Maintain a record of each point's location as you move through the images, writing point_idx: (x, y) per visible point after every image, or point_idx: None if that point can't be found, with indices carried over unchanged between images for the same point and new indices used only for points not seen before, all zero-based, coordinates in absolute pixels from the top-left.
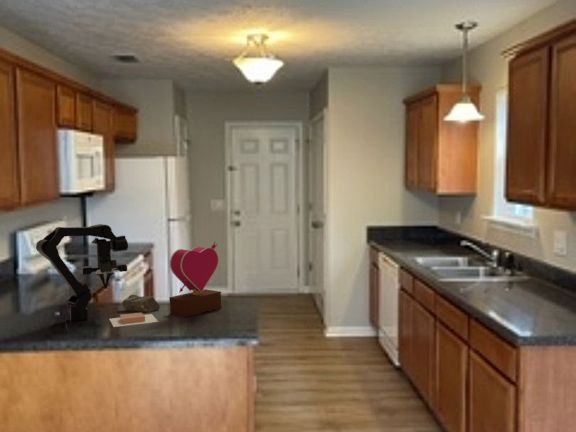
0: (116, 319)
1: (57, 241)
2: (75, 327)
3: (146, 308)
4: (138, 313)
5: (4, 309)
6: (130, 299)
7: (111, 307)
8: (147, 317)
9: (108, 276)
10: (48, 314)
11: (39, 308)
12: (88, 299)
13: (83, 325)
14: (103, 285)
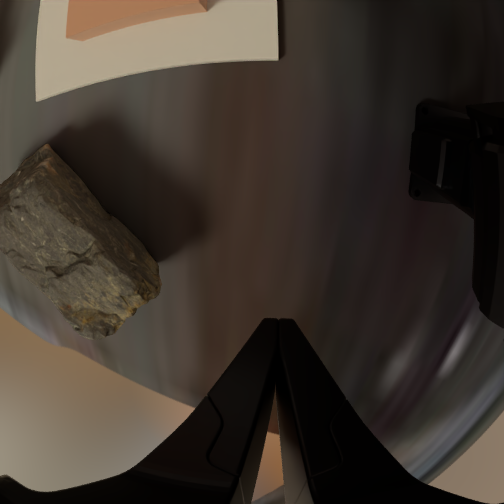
0: (231, 18)
1: None
2: (470, 15)
3: (39, 160)
4: (84, 14)
5: (499, 415)
6: (93, 274)
7: (229, 363)
8: (61, 26)
9: (174, 488)
10: (482, 345)
11: (452, 416)
12: (491, 112)
13: (437, 23)
14: (312, 349)
